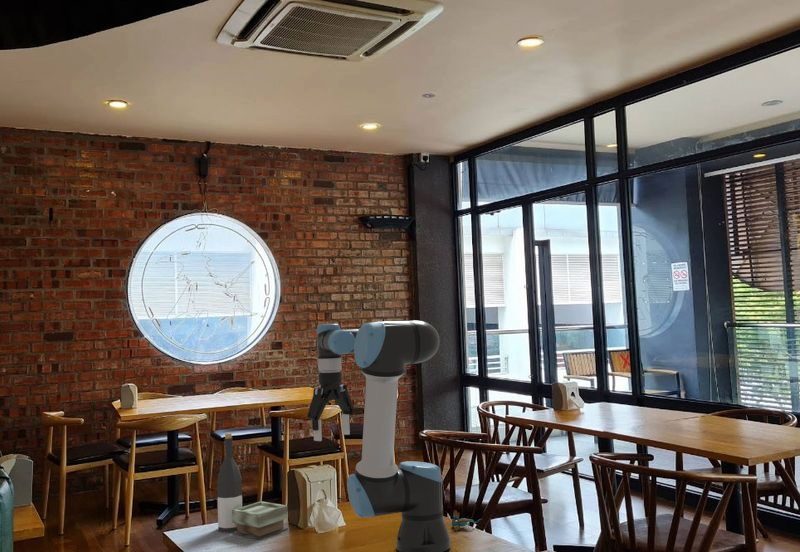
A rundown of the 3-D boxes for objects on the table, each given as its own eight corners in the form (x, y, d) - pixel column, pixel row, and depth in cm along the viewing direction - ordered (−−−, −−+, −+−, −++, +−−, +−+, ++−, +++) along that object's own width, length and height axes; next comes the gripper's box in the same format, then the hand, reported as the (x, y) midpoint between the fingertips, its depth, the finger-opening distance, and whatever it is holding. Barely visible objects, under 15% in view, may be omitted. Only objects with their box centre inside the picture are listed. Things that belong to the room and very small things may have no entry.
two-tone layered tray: (288, 529, 229) (287, 505, 230) (259, 539, 219) (258, 514, 220) (261, 524, 236) (260, 501, 237) (232, 534, 226) (231, 509, 227)
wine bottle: (213, 533, 229) (210, 435, 231) (223, 525, 237) (221, 431, 238) (237, 533, 227) (235, 435, 229) (247, 526, 235) (245, 431, 237)
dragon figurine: (472, 515, 230) (448, 514, 227) (481, 508, 224) (457, 506, 222) (474, 537, 226) (450, 535, 224) (483, 530, 220) (459, 528, 218)
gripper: (346, 368, 251) (348, 431, 250) (294, 374, 231) (296, 442, 230) (363, 368, 247) (365, 432, 246) (312, 374, 227) (314, 444, 226)
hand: (332, 437), depth 238 cm, fingers open, 13 cm apart
